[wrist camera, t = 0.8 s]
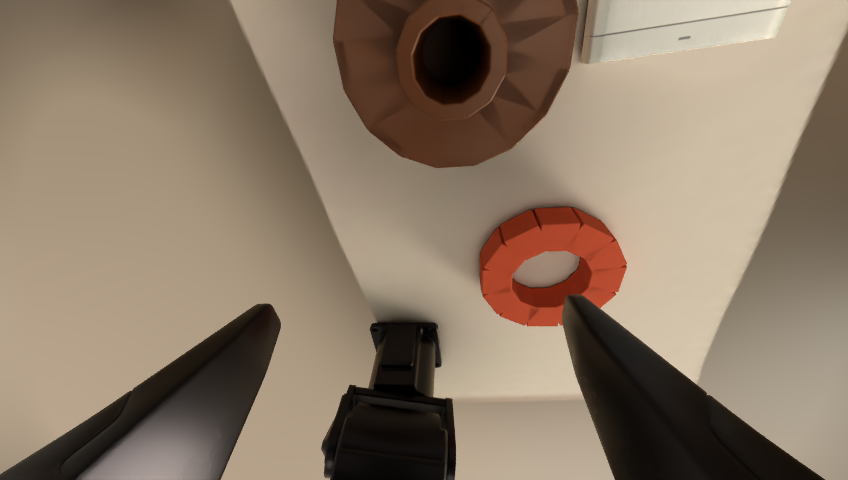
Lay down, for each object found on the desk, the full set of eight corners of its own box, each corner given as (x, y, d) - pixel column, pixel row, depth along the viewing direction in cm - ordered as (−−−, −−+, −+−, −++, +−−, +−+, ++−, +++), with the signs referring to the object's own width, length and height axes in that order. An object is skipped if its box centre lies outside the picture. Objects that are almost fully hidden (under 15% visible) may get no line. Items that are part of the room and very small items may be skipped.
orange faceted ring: (595, 305, 26) (606, 326, 24) (479, 306, 27) (481, 326, 25) (627, 203, 21) (644, 220, 19) (480, 210, 22) (482, 226, 20)
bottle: (523, 118, 18) (582, 193, 10) (388, 129, 19) (341, 206, 11) (539, -73, 14) (674, -229, 5) (361, -47, 14) (243, -144, 6)
